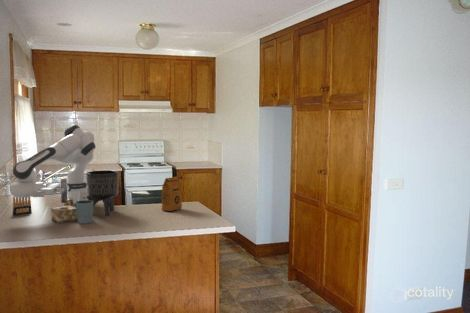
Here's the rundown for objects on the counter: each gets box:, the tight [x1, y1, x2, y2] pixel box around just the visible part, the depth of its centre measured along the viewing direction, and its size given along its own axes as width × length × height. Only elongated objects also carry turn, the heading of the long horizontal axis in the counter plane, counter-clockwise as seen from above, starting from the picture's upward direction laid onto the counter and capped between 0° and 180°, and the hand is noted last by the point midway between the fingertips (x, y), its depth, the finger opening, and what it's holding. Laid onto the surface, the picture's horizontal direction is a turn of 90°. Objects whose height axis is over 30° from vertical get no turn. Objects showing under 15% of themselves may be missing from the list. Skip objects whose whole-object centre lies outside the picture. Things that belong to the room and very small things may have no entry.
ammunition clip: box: [12, 196, 33, 216], centre depth 269 cm, size 11×2×12 cm, turn 130°
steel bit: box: [59, 178, 68, 204], centre depth 253 cm, size 4×4×14 cm
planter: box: [85, 169, 120, 217], centre depth 271 cm, size 20×20×26 cm
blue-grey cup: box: [74, 200, 94, 224], centre depth 250 cm, size 10×10×12 cm
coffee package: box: [161, 176, 183, 212], centre depth 282 cm, size 10×12×22 cm
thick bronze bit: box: [63, 198, 75, 207], centre depth 267 cm, size 6×6×10 cm
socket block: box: [50, 205, 77, 224], centre depth 255 cm, size 11×11×7 cm
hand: (65, 188), depth 253 cm, fingers closed on steel bit, 3 cm apart
